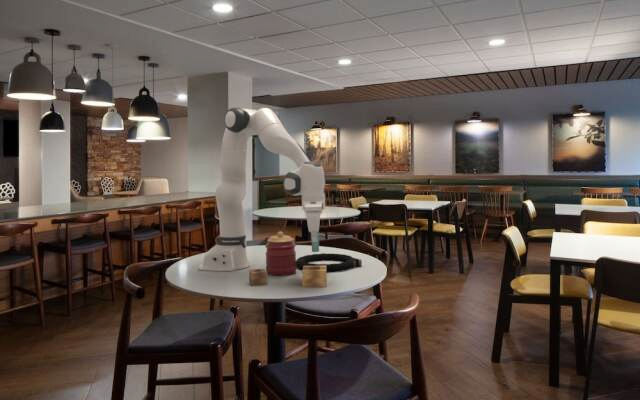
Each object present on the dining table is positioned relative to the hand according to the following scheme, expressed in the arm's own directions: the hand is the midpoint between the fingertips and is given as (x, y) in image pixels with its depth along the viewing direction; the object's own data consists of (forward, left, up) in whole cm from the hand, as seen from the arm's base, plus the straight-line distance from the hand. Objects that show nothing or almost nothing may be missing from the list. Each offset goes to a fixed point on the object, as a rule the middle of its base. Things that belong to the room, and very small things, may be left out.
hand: (314, 240), depth 176 cm
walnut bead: (-22, +1, -17) cm, 28 cm away
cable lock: (+5, +31, -17) cm, 36 cm away
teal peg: (0, 0, -4) cm, 4 cm away
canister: (-15, +19, -17) cm, 30 cm away
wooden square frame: (0, 0, -17) cm, 17 cm away
